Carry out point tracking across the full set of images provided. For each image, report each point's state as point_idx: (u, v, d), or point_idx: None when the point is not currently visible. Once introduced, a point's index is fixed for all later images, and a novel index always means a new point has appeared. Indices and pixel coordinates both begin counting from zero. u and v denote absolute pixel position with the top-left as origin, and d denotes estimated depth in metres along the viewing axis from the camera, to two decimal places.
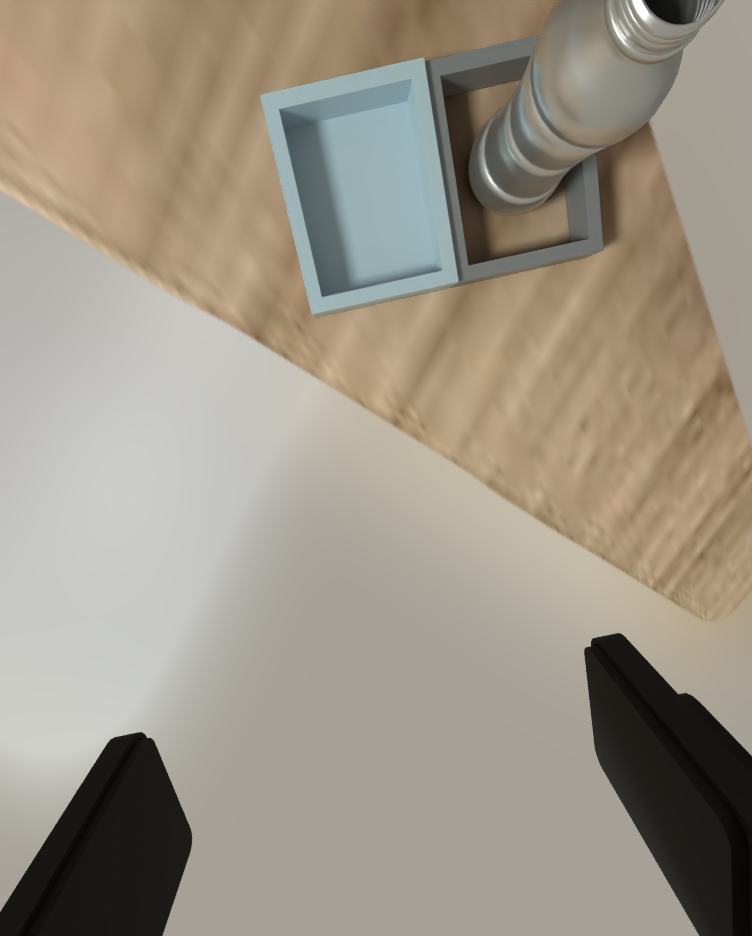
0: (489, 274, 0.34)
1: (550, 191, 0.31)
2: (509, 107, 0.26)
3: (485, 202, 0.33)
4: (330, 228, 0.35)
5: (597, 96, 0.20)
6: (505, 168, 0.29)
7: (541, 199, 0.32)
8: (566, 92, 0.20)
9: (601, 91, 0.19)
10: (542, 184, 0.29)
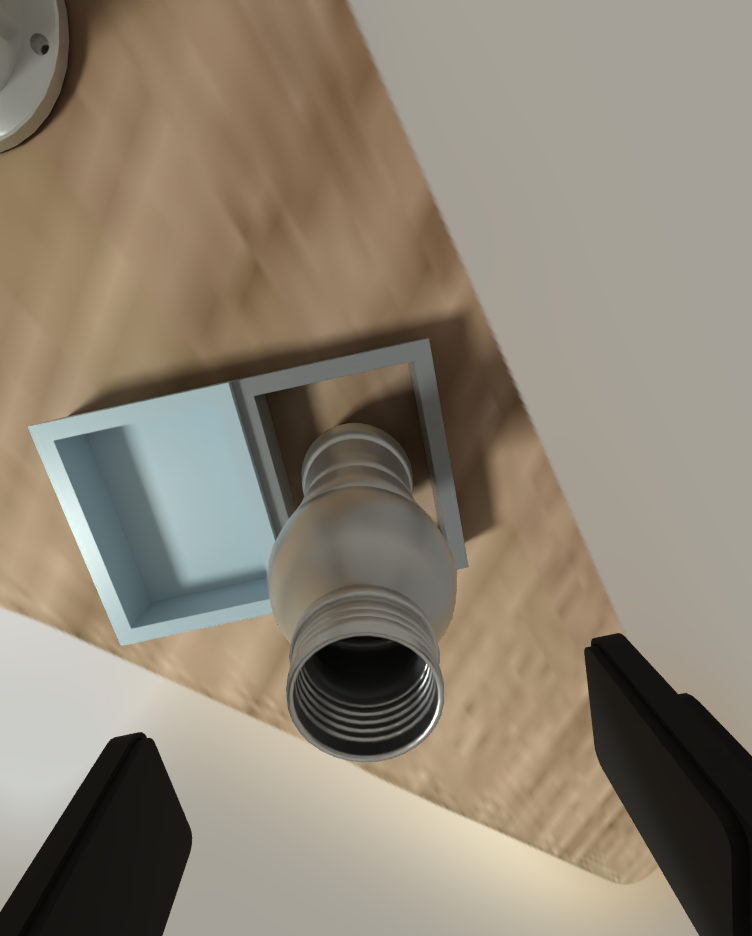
0: None
1: None
2: None
3: None
4: (150, 530, 0.29)
5: (334, 671, 0.14)
6: None
7: None
8: None
9: None
10: None
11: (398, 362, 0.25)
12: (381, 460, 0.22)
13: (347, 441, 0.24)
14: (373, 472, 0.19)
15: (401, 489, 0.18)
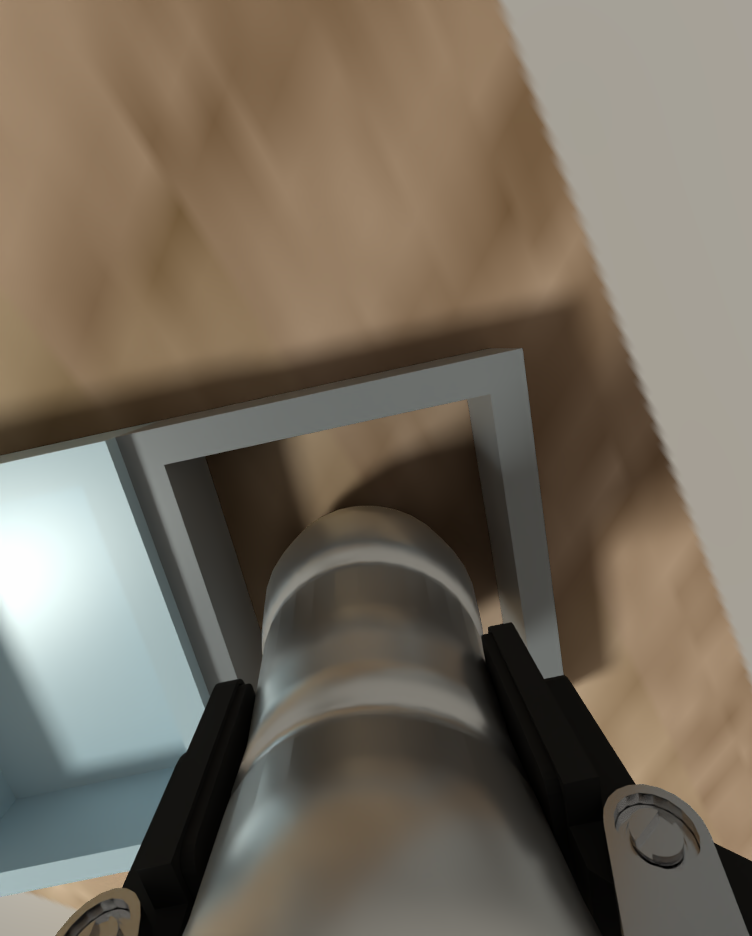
0: None
1: None
2: None
3: None
4: (4, 685, 0.17)
5: None
6: None
7: None
8: None
9: None
10: None
11: (458, 397, 0.12)
12: (436, 649, 0.09)
13: (353, 572, 0.11)
14: (434, 774, 0.06)
15: (548, 905, 0.05)
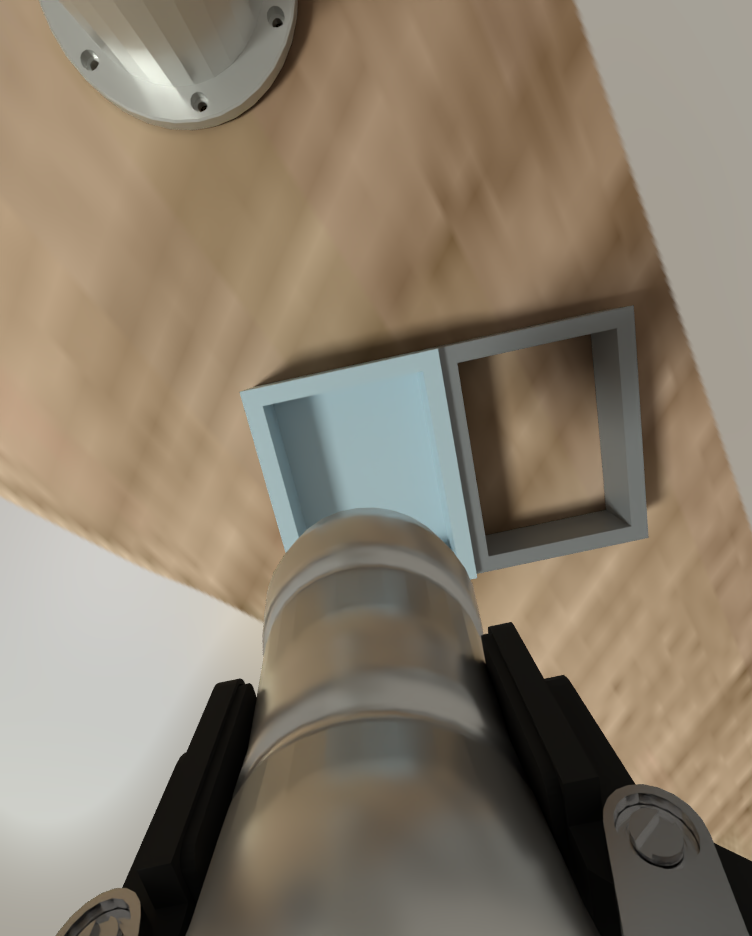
0: (513, 564, 0.29)
1: None
2: (234, 797, 0.08)
3: None
4: (325, 501, 0.30)
5: None
6: None
7: None
8: None
9: None
10: None
11: (601, 329, 0.25)
12: (437, 652, 0.09)
13: (354, 575, 0.11)
14: (435, 778, 0.06)
15: (549, 910, 0.05)
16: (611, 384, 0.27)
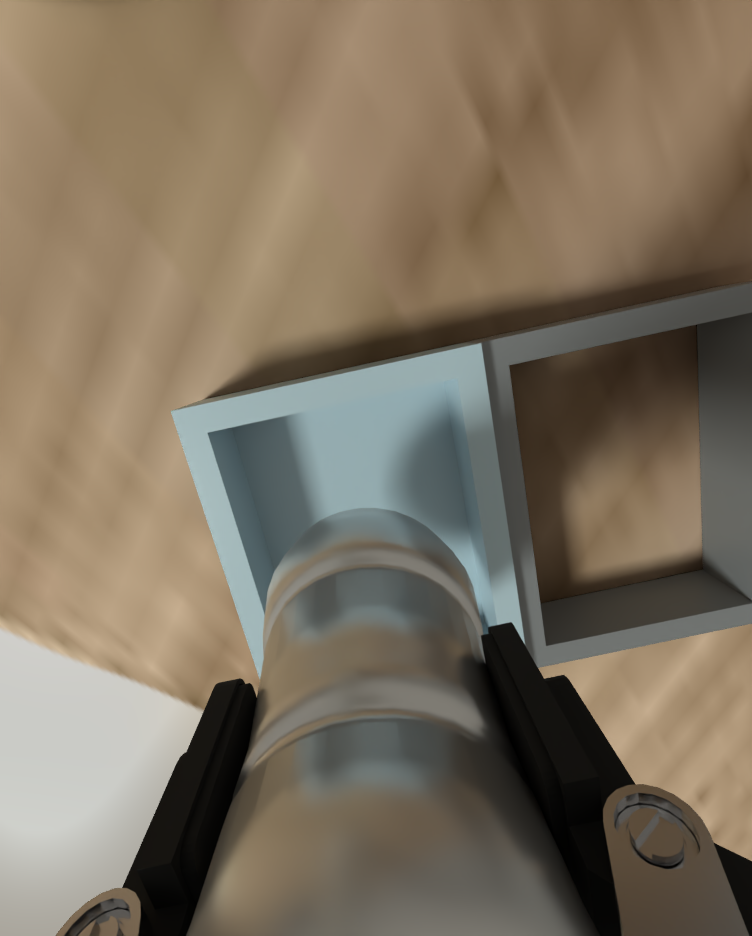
0: (581, 656, 0.20)
1: None
2: (235, 797, 0.08)
3: None
4: None
5: None
6: None
7: None
8: None
9: None
10: None
11: (732, 313, 0.16)
12: (437, 652, 0.09)
13: (354, 575, 0.11)
14: (435, 779, 0.06)
15: (549, 911, 0.05)
16: (734, 397, 0.18)
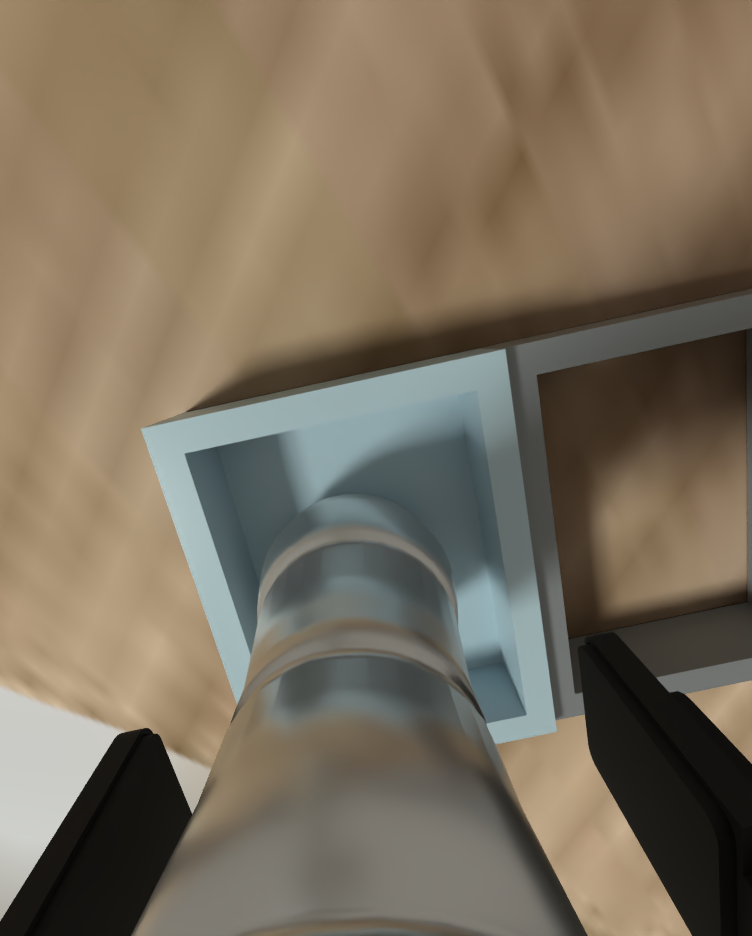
0: None
1: None
2: None
3: None
4: None
5: None
6: None
7: None
8: None
9: None
10: None
11: None
12: (407, 610, 0.10)
13: (338, 549, 0.12)
14: (395, 697, 0.07)
15: (478, 786, 0.06)
16: None
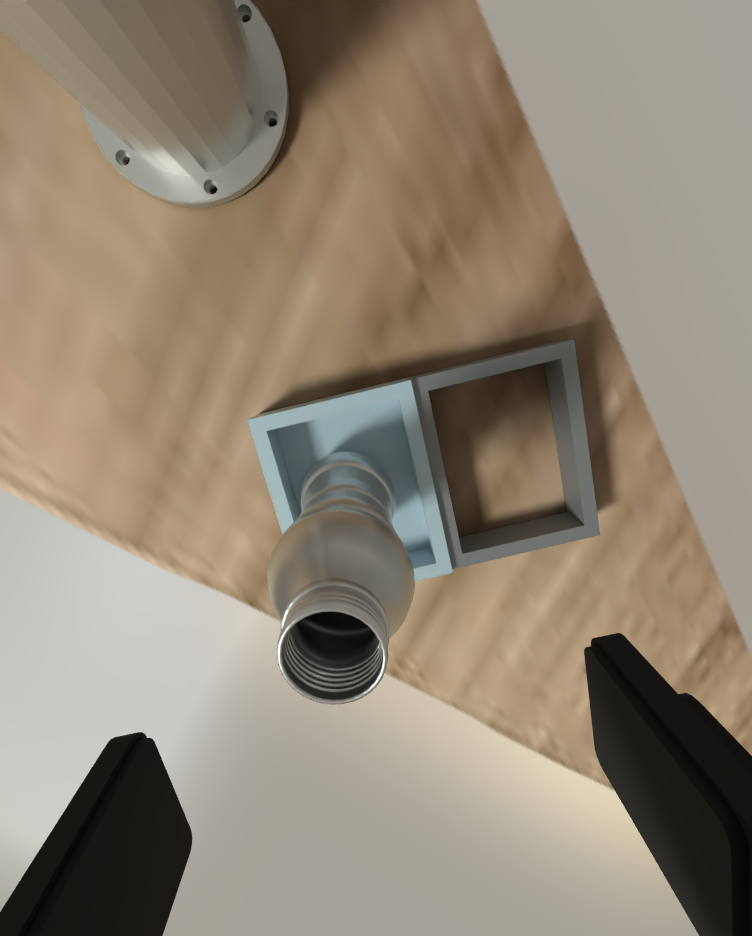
0: (484, 560, 0.33)
1: None
2: None
3: None
4: None
5: None
6: None
7: None
8: None
9: None
10: None
11: (548, 360, 0.30)
12: (363, 484, 0.26)
13: (337, 468, 0.29)
14: (353, 495, 0.24)
15: (374, 508, 0.22)
16: (561, 404, 0.32)
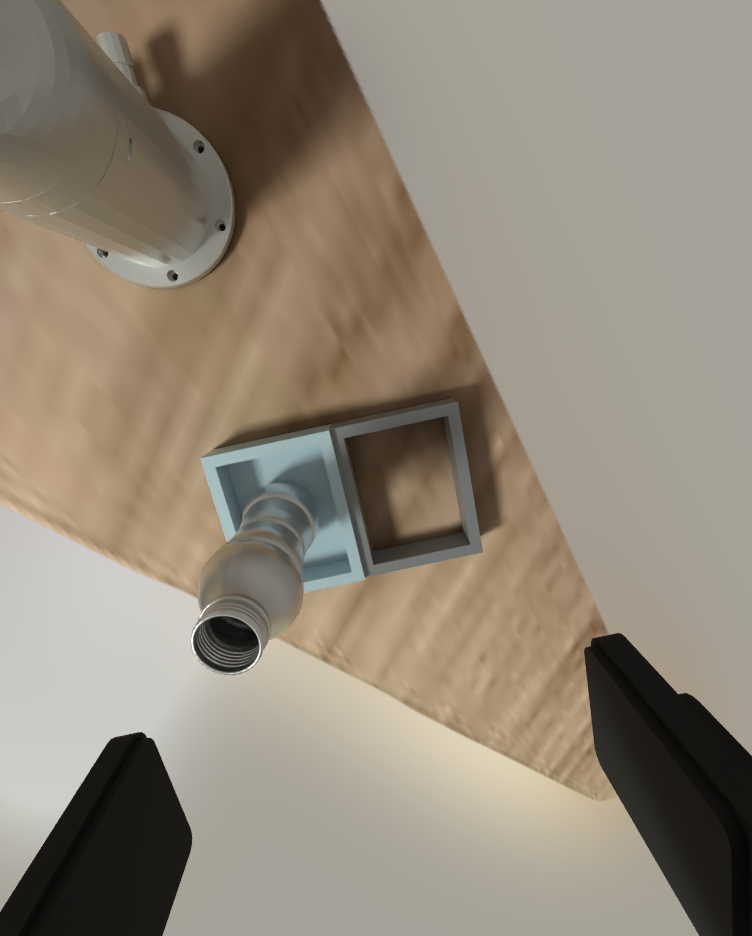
0: (391, 570, 0.42)
1: None
2: None
3: None
4: None
5: (231, 639, 0.27)
6: None
7: None
8: (214, 626, 0.28)
9: None
10: None
11: (437, 416, 0.39)
12: (283, 514, 0.35)
13: (267, 499, 0.37)
14: (269, 526, 0.32)
15: (282, 538, 0.31)
16: (452, 449, 0.40)
